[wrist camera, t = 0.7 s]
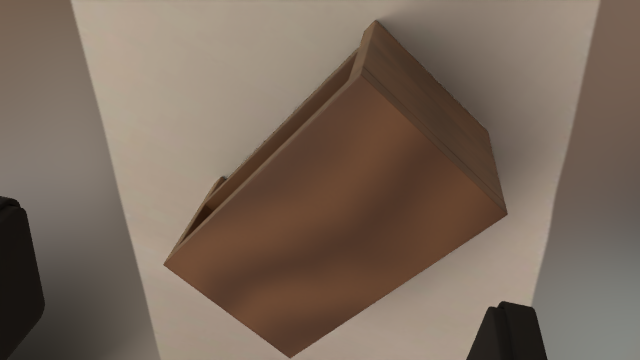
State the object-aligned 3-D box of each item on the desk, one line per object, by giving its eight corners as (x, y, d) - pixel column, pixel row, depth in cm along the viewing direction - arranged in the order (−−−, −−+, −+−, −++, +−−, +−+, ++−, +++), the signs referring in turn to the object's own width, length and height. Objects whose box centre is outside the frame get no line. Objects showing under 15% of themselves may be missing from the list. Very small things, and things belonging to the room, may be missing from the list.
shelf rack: (213, 183, 47) (162, 264, 38) (375, 19, 37) (360, 73, 28) (314, 265, 50) (289, 358, 41) (488, 132, 40) (508, 214, 31)
